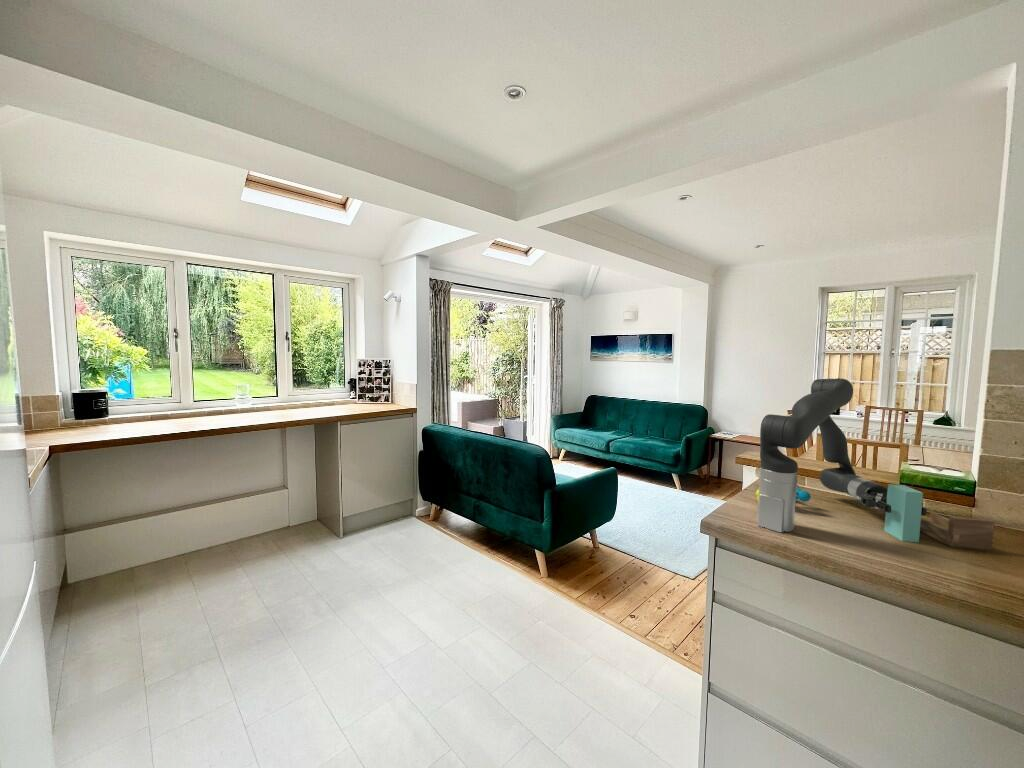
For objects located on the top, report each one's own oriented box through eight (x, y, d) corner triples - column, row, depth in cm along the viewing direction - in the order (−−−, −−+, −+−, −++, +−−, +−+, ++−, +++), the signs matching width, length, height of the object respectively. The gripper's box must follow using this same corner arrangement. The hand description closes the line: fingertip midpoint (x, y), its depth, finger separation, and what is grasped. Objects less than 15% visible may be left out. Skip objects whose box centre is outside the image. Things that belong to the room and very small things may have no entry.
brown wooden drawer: (991, 550, 109) (994, 521, 109) (951, 547, 111) (954, 518, 110) (935, 524, 127) (937, 498, 126) (901, 521, 129) (903, 496, 128)
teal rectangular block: (918, 542, 114) (923, 492, 113) (902, 540, 114) (906, 491, 113) (899, 531, 120) (903, 485, 120) (884, 530, 121) (888, 484, 120)
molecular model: (767, 519, 137) (816, 504, 132) (755, 492, 137) (802, 477, 133) (755, 504, 151) (798, 490, 147) (743, 480, 152) (786, 466, 147)
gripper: (844, 479, 132) (879, 495, 116) (895, 482, 130) (938, 499, 114) (842, 502, 133) (877, 521, 117) (893, 505, 130) (935, 526, 114)
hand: (907, 510), depth 115 cm, fingers open, 8 cm apart
